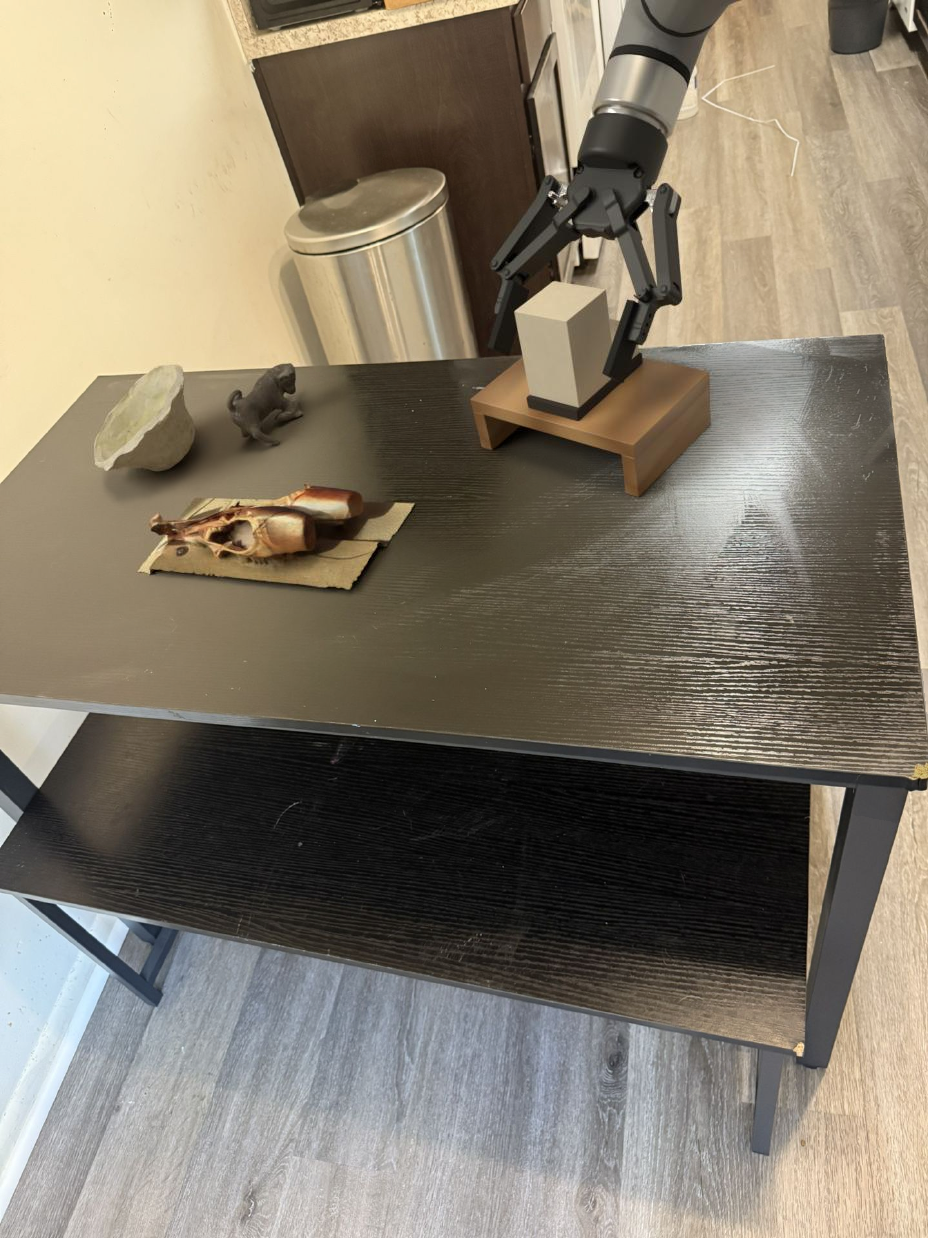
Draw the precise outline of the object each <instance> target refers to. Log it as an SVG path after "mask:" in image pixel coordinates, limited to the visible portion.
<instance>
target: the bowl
mask: <svg viewBox="0 0 928 1238" xmlns="http://www.w3.org/2000/svg"><path fill="white" fill-rule="evenodd" d="M184 389H185V378H184V369H183V367H182V365H180V364H162V365H158V366H156V367H154V368H153V369H151V370H150V371H148V372H147V373H144V375H142V376H141V377H140V378H139V379H137V380H136V381H135V383H134V385H133V386H131V387H130V388H129V391H128V393H125V395H124V396H123V397H122V398H121V399H120V401H119V402H118V403H117V404H116V405H115V406H114V408H113V409H112V410H110V411H109V413H108V414H107V415H106V418H105V420H104V422H103V424H102V426H101V428H100V431H99V432H98V433H97V435H96V437H95V439H94V444H93V446H94V447H93V458H94V464H95V466H96V467H97V468H99V469H102V470H103V469H104V471H106V472H111V471H112V470H117V469H118V470H119V469H122V468H136V469H145V470H150V471H153V472H163V471H167V470H170V469H171V468H173V467H174V466H176V465H177V464H178V463H180V461H182V460H183V458H184V457H185V456H186V455H187V454H188V453H189V452H190V449H191V447H192V444H193V443H194V440H195V435H196V432H195V424H194V420H193V418H192V415H190V413H189V410H188V408H187V406H186V402H185V394H184Z"/></svg>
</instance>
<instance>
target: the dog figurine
mask: <svg viewBox="0 0 928 1238" xmlns="http://www.w3.org/2000/svg"><path fill="white" fill-rule="evenodd" d="M296 380H297V375H296V368H295V366H294V365H293V363H291V362H288V363H280V364H277V365H275V366H273V367H271V368H270V369H267V370H266V371H265V373H264V374H263V375H262V376H260V377H259V378H258V379H257V380H256V382H255V383H254V385H253V387H252V390H251V391H250V392H249V394H247V395H246V396H244V397H243V392H242V390H241V389H235V390H233V391H232V392H231V393H230V394H229V396H228V398H227V400H226V407H227V409H228V411H229V415H230V419H231V421H232V422H233V423H234V425H235V426H237V427H238V428H239V429H240V431H241V435H242V438H243V439H246V438H249V437H250V436H252V438H254V439H255V440H257V441H261V442H263V443H264V444H271V445H273V446H278V445H279V444H280V440H279V438H276V437H273V436H270V435H267V434H265V433H263V432H262V431H261V423H262V422H263V421H265V419H266V418H268V417H269V416H270V415H271V414H272V413H273V412H275V411H276V410H281V411H280V412H278V413H277V414H276V415H275V416H274V420H275V421H279V422H286V421H289V420H292V419H296V418H297V419H298V418H299V417H301V416H302V415H303V414H304V412H303V411H301V410H300V409H299V405H298V403H296V402H295V401H293V400H291V399H288V398H287V397H285V396H284V395H285V393H286V394H288V395H291V396H292V395H294V394H295V393H296V392H297V388H296V382H297V381H296Z"/></svg>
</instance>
